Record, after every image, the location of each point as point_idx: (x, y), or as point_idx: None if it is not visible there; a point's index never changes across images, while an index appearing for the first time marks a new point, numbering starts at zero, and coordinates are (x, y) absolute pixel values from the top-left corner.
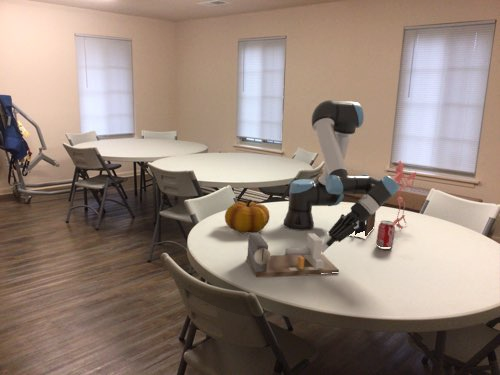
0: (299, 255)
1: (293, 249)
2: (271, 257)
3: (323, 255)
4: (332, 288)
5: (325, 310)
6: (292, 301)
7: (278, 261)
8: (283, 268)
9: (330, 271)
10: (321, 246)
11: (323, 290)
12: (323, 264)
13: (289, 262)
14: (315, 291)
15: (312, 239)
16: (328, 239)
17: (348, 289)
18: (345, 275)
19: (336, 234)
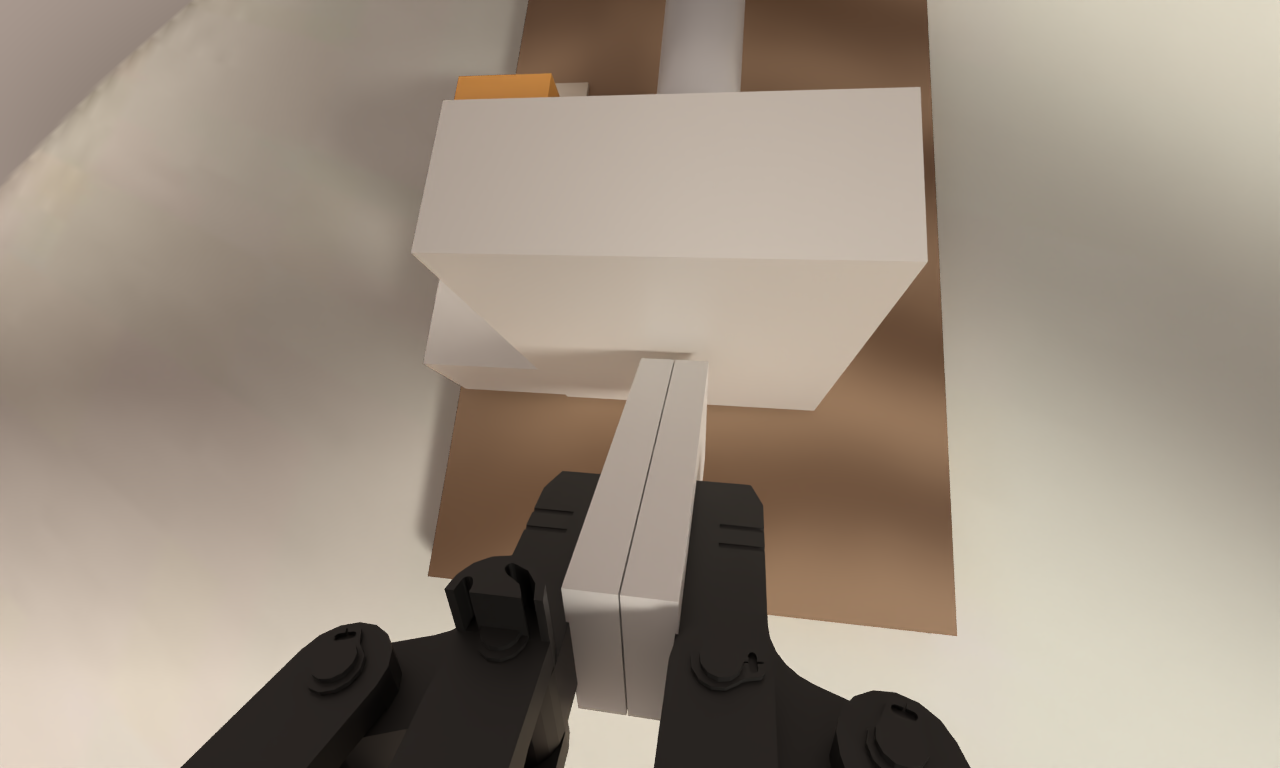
0: (913, 293)
1: (685, 17)
2: (870, 3)
3: (897, 617)
4: (221, 355)
5: (15, 177)
6: (184, 31)
7: (758, 42)
8: (591, 47)
9: (452, 472)
10: (470, 304)
11: (222, 270)
12: (443, 372)
13: None
14: (232, 208)
15: (572, 111)
16: (586, 518)
17: (154, 483)
18: (393, 628)
19: (399, 756)
